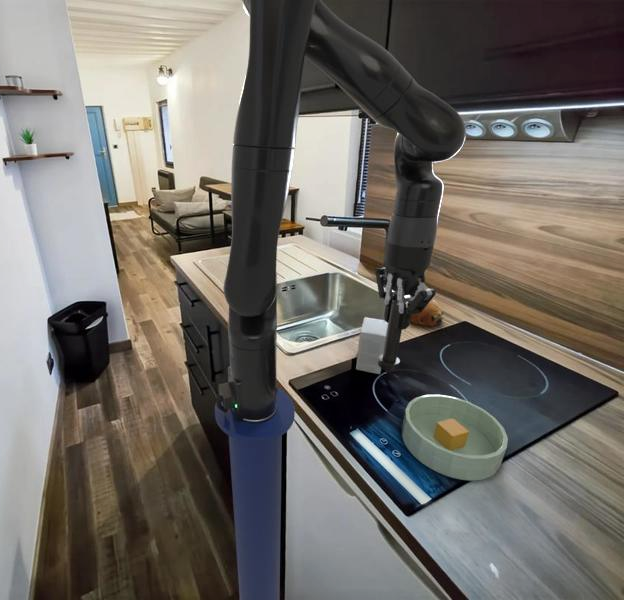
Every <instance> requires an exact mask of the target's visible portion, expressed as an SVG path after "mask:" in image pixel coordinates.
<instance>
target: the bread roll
mask: <svg viewBox="0 0 624 600" xmlns="http://www.w3.org/2000/svg"><path fill="white" fill-rule="evenodd" d="M406 306H408V303H407V305H406ZM444 319H445V317H444V311H443V309H442V307H441V306H440V304H439V303H438V302H437V301H436V300H434V299H431V301H430V302H429V303H428V304H427V306H426V307H425V308H424V309H423V311H422V312H421V313H415V314H411V316H410V323H413V324H415V325H417V326H418V325H420V326H423V327H432V326H437V325H439V324H441V322H442V321H443V320H444Z"/></svg>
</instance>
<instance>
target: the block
mask: <svg viewBox="0 0 624 600" xmlns="http://www.w3.org/2000/svg"><path fill="white" fill-rule="evenodd" d="M468 434H469V431H468V430H467V429H465V428H464V427H463V426H462V425H461V424H459V423H458V422H457V421H456V420H455V419H453V418H452V419H448V420H444V421H441V422H437V425H436V429H435V433H434V438H435V439H436V440H437V441H438V442H439V443H440V444H441V445H443V446H444V447H445V448H446V449H447V450H450V451H451V450H454V449H458V448H461V447H464V446H465V444H466V441H467V438H468Z"/></svg>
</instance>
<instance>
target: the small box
mask: <svg viewBox="0 0 624 600" xmlns="http://www.w3.org/2000/svg"><path fill="white" fill-rule="evenodd" d="M387 328H388V323H387V322H386V321H385V320H384V319H378V318H372V317H367V316H364V317H363V320H362V325H361V328H360V333H359V338H358V346H357V347H358V349H357V355H356V356H357V357H356V365H355V370H357V371H361V372H362V371H363V372H366V373H371V374H377V375H381V372H382V368H380V367H379V365H378V359H379V356H380V355H382V354H383V352H384V346H385V340H386V334H387Z"/></svg>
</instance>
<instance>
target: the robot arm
mask: <svg viewBox="0 0 624 600" xmlns="http://www.w3.org/2000/svg"><path fill="white" fill-rule="evenodd" d="M240 2H241V4H242V7H243V9H244V11H245V13H246V14H247V16H248V17H249V44H248V47H249V48H248V58H247V65H246V66H247V67H246V72H245V77H244V80H243V81H244V82H243V86H242V91H241V95H240V99H239V104H238V108H237V113H236V118H235V126H234V131H233V132H234V133H233V139H232V140H233V141H232V155H231V177H230V178H231V181H230V182H231V183H230V185H231V186H230V193H231V194H230V204H231V206H230V207H231V209H230V210H231V242H230V250H229V257H228V262H227V263H228V264H227V267H226V273H225V278H224V281H223V288H222V289H223V294H224V295H223V296H224V299H225V301H226V303H227V305H228V319H227V321H228V322H227V336H228V338H227V339H228V351H229V366H228V367H227V381H228V382H223V383H218V395H219V397H218V398H217V400H216V402H217V403H216V402H215V405H216V404H217V407H218V408H219V409H220V410H221V411H223V412H224V413H226V412H227V411H228V410H227V409H230V408H232V411H233V413H234V415H235V417H236V419H237V421H238V422H242V421H244V422H248V423H262V422H265V421H268V420H269V419H271V418H272V417H273V416H274V415H275V413H276V410H277V399H276V390H277V395H278V389H277V388H278V385H277V360H278V359H277V357H278V355H277V349H278V348H277V345H278V344H277V343H278V341H277V336H278V273H277V258H278V243H279V235H280V230H281V226H282V223H283V218H284V214H285V210H286V205H287V201H288V196H289V190H290V185H291V180H292V175H293V174H292V173H293V168H294V161H295V160H294V159H295V151H296V141H297V131H298V122H299V113H300V107H301V93H302V81H303V72H304V71H303V69H304V61H305V58H306V59H308V60H309V61H310V62H311V63H313V65H315V66H316V67H317V68H318V69H319V70H321V71H322V72H323V73H324V74H325V75H326V76H327V77H328V78H330V79H331V80H332V81H333V82H334V83H335V84H336V85H337V86H338V87H339V88H340V89H341V90H343V92H344V93H345V94H346V95H348V97H350V99H351V100H352V101H354V103H356V105H358V107H359V108H360V109H361V110H362V111H363V112H364V113H366V114H367V115H368V117H370V118H371V119H372V120H373V122H375V123H376V124H377V125H379V126H380V127H382V128H386V129H390V130H393V131H394V132H396V136H395V140H394V145H393V163H394V176H395V182H396V183H395V184H396V185H395V186H396V191H395V196H394V202H393V209H392V215H391V218H390V221H389V225H388V232H387V238H386V245H385V252H384V258H383V262H384V264H385V267H379V268H375V270H374V271H375V279H376V284H377V291H378V296H379V298H380V299H383V300H384V305H385V308H384V313H383V317H384V319H383V320H385V321H386V322H387V323H388V322H389V316H390V310H391V304H392V301H393V300H398V301H399V312H398V313H397V319H396V324H395V328H396V329H397V330H402V331H403V330H406V329H408V328H409V326H410V323H411V321H410V316H411V314H415V313H421V312H422V311H423V309H424V308H425V307H426V306H427V304H428V303H429V302H430V301H431V300H433V298H434V297H435V296H436V294H437V291H436V289H434V288H429V287H428V286H427V285H426V284H425V283H426V277H425V272H426V270H427V269H428V268H429V267H430V265H431V261H432V257H433V252H434V246H435V241H436V237H437V232H438V224H439V223H438V222H439V214H440V209H441V203H442V199H443V194H444V183H443V181H442V180H441V178H439V177H437V176H436V174H435V173H434V164H433V163H440V162H444V161H448V160H450V159H451V158H453V157H454V156H456V155H457V153H458V152H459V151H460V150H461V149H462V148H463V145H464V143H465V140H466V135H467V132H466V131H467V129H466V125H465V121H464V120H463V118H462V116H461V114H460V113H459V112H458V111H457V110H456V108H454V107H452V106H451V105H450V104H449V103H447V102H446V101H445V100H444V99H441V98H440V97H439V96H437V95H436V94H435V93H433V92H431V91H429V90H428V89H426V88H425V87H422V86H421V85H420V84H419V83H418V82H417V81H416V80H415V78H414V77H413V76H412V75H411V74H410V73H409V72H408V70H407V69H406V68H405V67H404V66H403V65H402V64H401V63H400V61H398V59H396V57H395V56H394V55H392V53H391V52H390V51H388V50H387V49H386V48H385V47H383V46H382V45H381V44H379V43H377V42H376V41H374V40H373V39H371V38H370V37H369V36H366V35H365V34H363V33H361V32H360V31H358V30H357V29H355V28H353V27H352V26H350V25H349V24H348V23H346V22H345V21H343V20H342V19H341V18H340V17H339V16H337V14H335V13H334V12H333V11H332V10H331V9H330V8H329V7H328V6H327V5H326V4H325V3H324V2H323V0H240ZM384 286H385V287H384ZM406 303H407V304H408V306H406ZM221 402H222V403H223V405H224V407H223V406H222V405H221Z"/></svg>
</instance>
